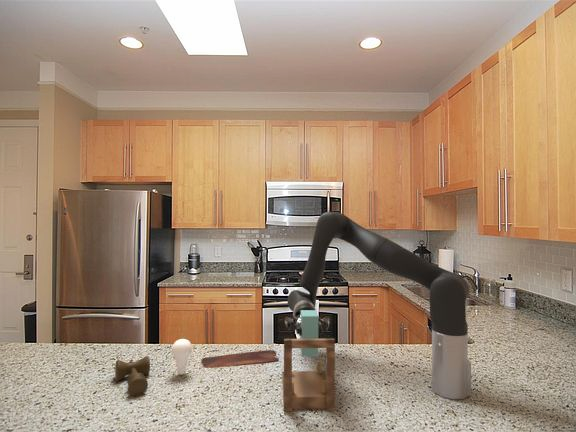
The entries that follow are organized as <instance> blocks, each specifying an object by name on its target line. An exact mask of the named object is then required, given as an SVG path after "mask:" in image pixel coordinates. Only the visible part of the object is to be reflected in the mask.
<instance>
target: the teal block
mask: <svg viewBox="0 0 576 432" xmlns="http://www.w3.org/2000/svg"><path fill="white" fill-rule="evenodd" d="M318 317H319V314H318V312H317V309H316V310H301V326H302V336H299V339H319V336H318ZM299 349H300V354H301V357H305V358H306V357H319V348H299Z"/></svg>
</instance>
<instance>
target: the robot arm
mask: <svg viewBox="0 0 576 432" xmlns="http://www.w3.org/2000/svg"><path fill="white" fill-rule="evenodd" d="M333 239H339V240H342V241H344V242H346V243H348V244H350V245H352V246H354V248H356V249H357V250H359V252H360V253H361V254H362V255H363V256H364V257H365V258H366V259H367V260H368V261H370V262H371V263H372V264H374V265H376V266H377V267H379V268H380V269H382V270H384V271H386V272H388V273H390V274H393V275H395V276H398V277H402V278H405V279H408V280H411V281H413V282H415V283H418V284H419V285H421V286H423V287H424V288H426V289H427V290H429V318H430V322H431V389H432V391H433V392H434V394H437V395H438V396H440V397H442V398H445V399H449V400H464V399H466V398H468V397H472V362H471V361H470V360H469V359H468V358H469V357H468V356H469V354H468V353H469V350H468V347H469V346H468V344H469V343H468V340H469V339H468V338H469V337H468V336H469V335H468V332H469V331H468V329H469V328H468V323H467V318H466V317H467V314H466V311H467V309H466V307H467V305H466V302H467V299H468V298H469V296H470V287H469V284H468V282H467V281H466V280H465V278H463V277H462V276H461V275H459V274H456V273H454V272H452V271H450V270H448V269H444V268H442V267H440V266H437V265H436V264H434V263H431V262H429V261H427V260H425V259H424V258H422V257H420V256H418V255H417V254H415V253H414V252H412V251H410V250H408V249H407V248H405V247H403V246H401V244H398V243H396V242H394V241H392V240H391V239H390V238H386V237H385V236H382V235H380V234H378V233H376V232H374V231H372V230H369V229H368V228H365V227H363V226H361V225H359V224H358V223H357V222H355V221H354V220H352V218H350V217H348V216H347V215H346V214H343V213H341V212H338V211H337V212H336V211H326V212H324V213H322V214H321V215H320V216H319V217H318V218H317V222H316V225H315V231H314V233H313V238H312V242H311V248H310V251H309V255H308V258H307V261H306V265H305V267H304V269H303V272H302V274H301V277H300V279H299V280H300V281H299V285H300V287H301V288H303V289H304V290H306V291H307V292H308V293H307V292H305V291H302V290H299V289H294V290H291V292H289V294H288V296H287V306H288V308H289V310H291V311H292V313H293V318H292V317H289V316H285V317H284V326H285V327H286V329H288V331H290V332H294V331H295V332H296V335H299V337H300V336H302V326H301V310H316V311H317V309H316V305H317V294H318V290H319V286H320V283H321V281H322V278H323V277H324V273H325V268H326V257H327V251H328V250H329V249H328V248H329V246H331V245H330V244H331V243H332V241H333ZM329 327H330V317H329V316H325V317H323V318H321V317H320V316H318V337H320V336H321V335H322V334H323V332H327V331H328V329H329Z"/></svg>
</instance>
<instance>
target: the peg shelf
mask: <svg viewBox="0 0 576 432" xmlns="http://www.w3.org/2000/svg"><path fill="white" fill-rule="evenodd" d="M300 348H318V349H325V350H326V355H325V356H326V358H325V360H326V361H325V363H326V364H325V369H326V370H323V363H322V362H317V363H316V370H308V371H307V370H305V371H304V370H302V371H301V370H297V371H295V370H294V371H293V349H300ZM335 350H336V339H335V338H334V337H333V338H331V337H330V338H318V339H300V338H284V339H283V371H282V372H281V373H282V376H281V378H282V379H281V380H282V381H281V383H282V384H283V385H282V399H283V400H282V401H283V402H282V404H283V412H284V413H285V412H286V413H288V412H292V411H293V410H301V409H304V410H306V409H307V410H309V409H317V410H318V409H319V410H320V409H326V412H335V411H336V410H335V408H336V407H335V403H336V401H335V399H336V396H335V394H336V393H335V391H336V386H335V385H336V379H335V378H336V376H335V375H336V374H335V373H336V372H335V371H336V365H335V364H336V359H335V358H336V352H335Z"/></svg>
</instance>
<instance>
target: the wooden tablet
mask: <svg viewBox="0 0 576 432" xmlns="http://www.w3.org/2000/svg"><path fill="white" fill-rule="evenodd" d="M279 361H280V359H279V358H278V357H277V352H276V350H272V349H268V350H267V349H266V350H255V351H247V352H240V353H231V354H223V355H215V356H208V357H203V358H201V360H200V364H201V365H202V367H203V368H206V369H207V368H208V369H211V368H213V369H217V368H225V367H226V368H227V367H228V368H229V367H235V366H243V365H254V364H257V365H258V364H267V363H268V364H269V363H274V362H279Z"/></svg>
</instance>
